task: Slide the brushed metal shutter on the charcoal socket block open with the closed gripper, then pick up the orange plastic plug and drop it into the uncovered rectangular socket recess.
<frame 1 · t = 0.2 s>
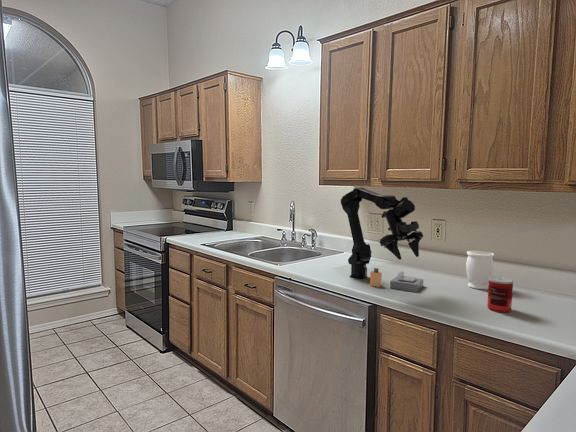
hand: (409, 258, 161), 15 cm above the counter, tool tilted 30°, fingers open, 9 cm apart
canned food: (499, 309, 144), on the counter
socket: (406, 286, 173), on the counter
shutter: (407, 276, 172), point 5 cm above the counter, slide at 0.0 cm
jar: (478, 287, 173), on the counter
plug: (375, 285, 175), on the counter
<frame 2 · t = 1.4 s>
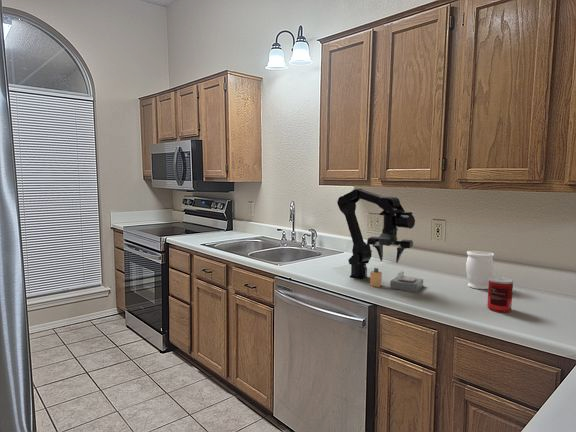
hand: (389, 261, 176), 10 cm above the counter, tool pointing down, fingers open, 7 cm apart
nothing on the counter moved.
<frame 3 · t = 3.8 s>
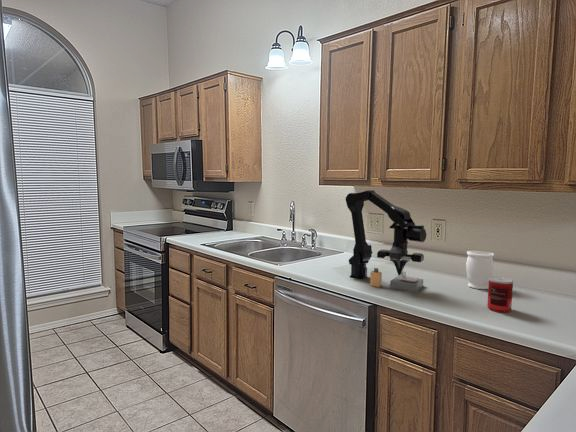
hand: (399, 275, 174), 5 cm above the counter, tool pointing down, fingers closed
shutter: (409, 276, 172), point 5 cm above the counter, slide at 0.9 cm, touching gripper
everything else where it was.
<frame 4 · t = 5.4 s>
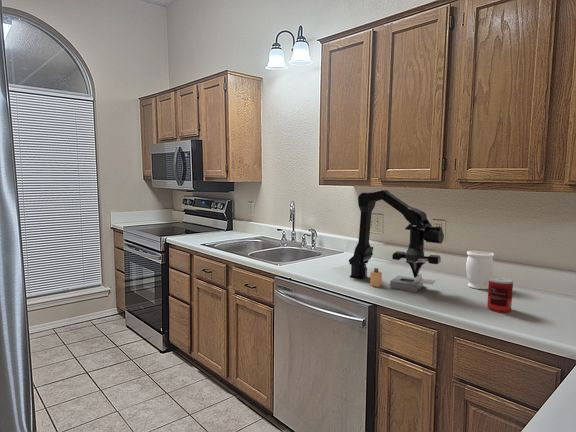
hand: (415, 277, 170), 5 cm above the counter, tool pointing down, fingers closed
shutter: (425, 278, 168), point 5 cm above the counter, slide at 7.7 cm, touching gripper
everything else where it was.
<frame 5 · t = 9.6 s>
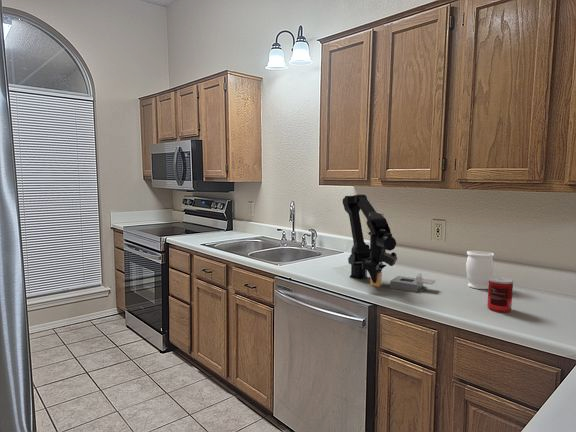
hand: (375, 282, 175), 2 cm above the counter, tool pointing down, fingers closed on plug, 3 cm apart
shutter: (425, 278, 168), point 5 cm above the counter, slide at 7.7 cm
plug: (375, 285, 175), on the counter, touching gripper
everything else where it was.
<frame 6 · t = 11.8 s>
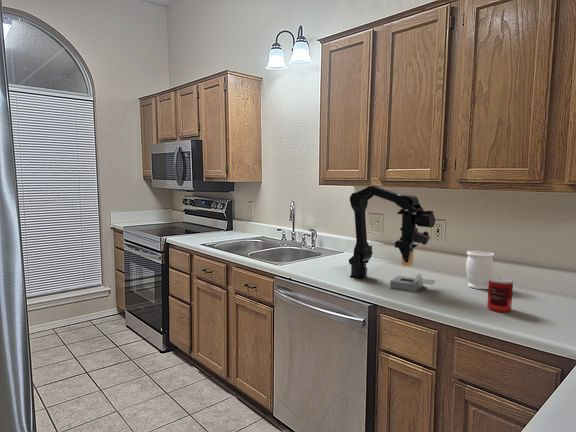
hand: (407, 261, 171), 11 cm above the counter, tool pointing down, fingers closed on plug, 3 cm apart
plug: (407, 265, 172), point 9 cm above the counter, touching gripper
everything else where it was.
when the fingers open (3 cm above the counter, at t = 14.1 s): plug drops 1 cm, resting on socket.
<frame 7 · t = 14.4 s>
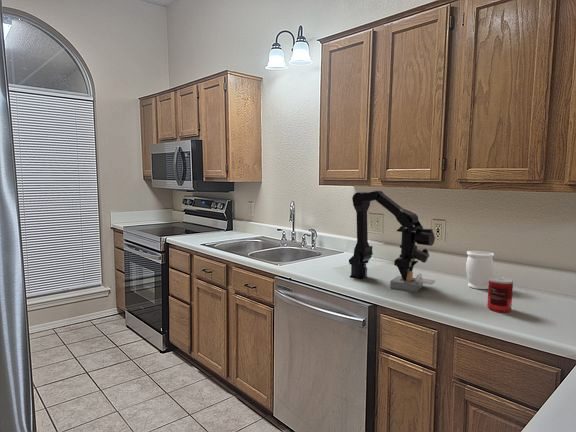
hand: (406, 278, 172), 3 cm above the counter, tool pointing down, fingers open, 6 cm apart
plug: (406, 285, 173), resting on socket
everything else where it was.
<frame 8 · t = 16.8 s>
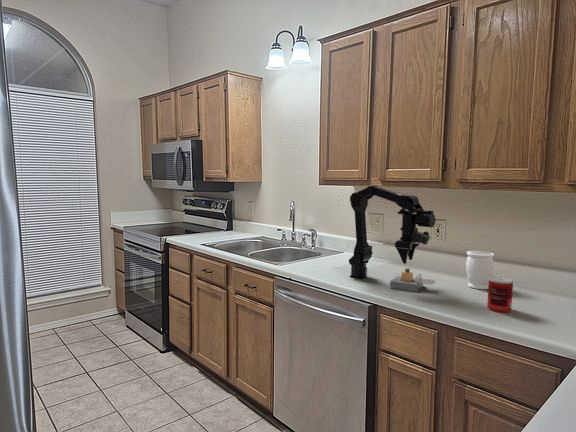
hand: (407, 261, 171), 11 cm above the counter, tool pointing down, fingers open, 9 cm apart
nothing on the counter moved.
at the end: plug 0.0 cm off-centre on the socket, point 0.5 cm above the socket's base; plug tilted 0°; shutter slide at 7.7 cm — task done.
